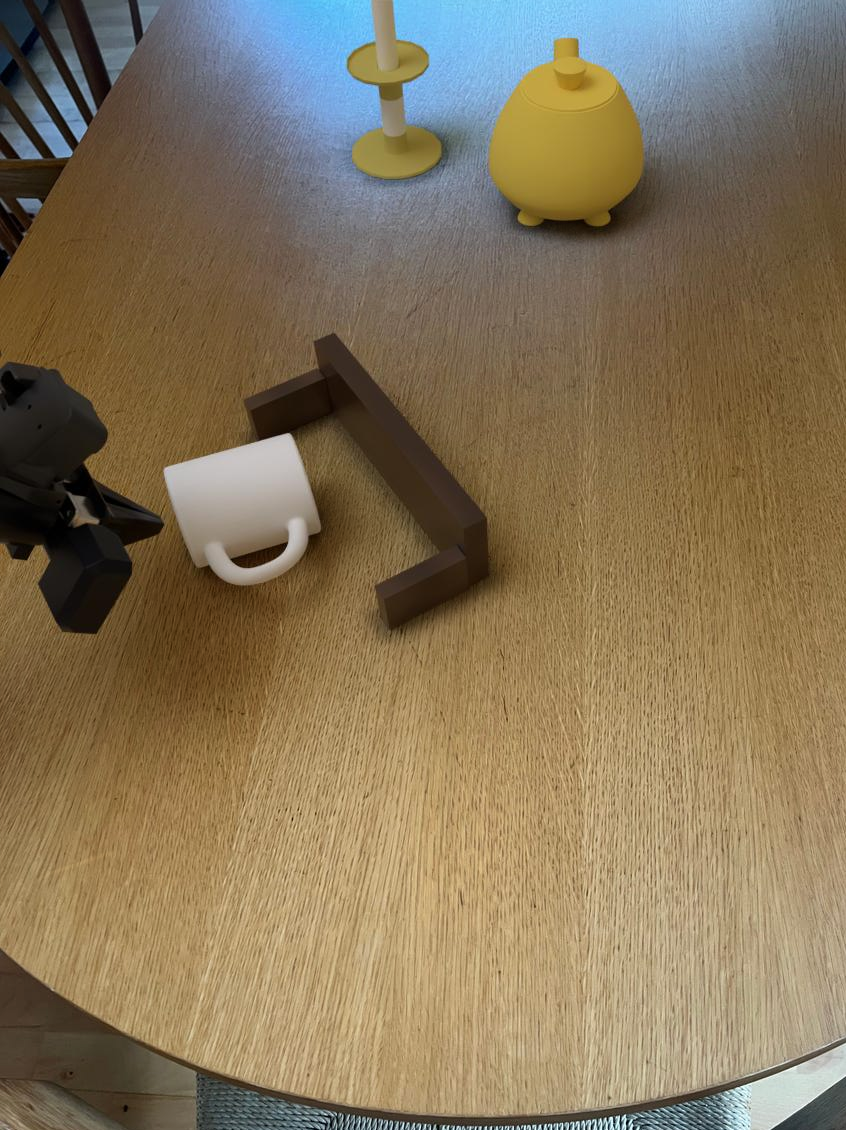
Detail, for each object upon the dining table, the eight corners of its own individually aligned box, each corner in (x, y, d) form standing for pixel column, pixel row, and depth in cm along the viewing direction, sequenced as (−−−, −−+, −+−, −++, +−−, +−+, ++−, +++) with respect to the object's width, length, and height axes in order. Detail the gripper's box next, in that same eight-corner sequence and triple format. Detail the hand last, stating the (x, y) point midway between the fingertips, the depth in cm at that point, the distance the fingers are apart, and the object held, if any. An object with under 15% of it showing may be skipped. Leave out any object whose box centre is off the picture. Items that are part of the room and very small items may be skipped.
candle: (433, 182, 108) (412, -115, 85) (342, 176, 109) (297, -119, 86) (449, 130, 113) (434, -162, 91) (362, 124, 114) (325, -166, 92)
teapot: (494, 132, 113) (491, -1, 101) (635, 132, 112) (648, -2, 100) (485, 244, 102) (482, 108, 90) (642, 245, 101) (658, 108, 89)
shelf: (389, 630, 76) (379, 574, 70) (252, 433, 88) (234, 371, 82) (490, 578, 79) (489, 519, 73) (344, 393, 90) (333, 330, 85)
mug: (184, 515, 83) (155, 446, 76) (302, 481, 85) (284, 411, 78) (215, 628, 77) (186, 564, 70) (341, 589, 79) (325, 523, 72)
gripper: (37, 479, 53) (271, 524, 65) (-59, 289, 62) (162, 360, 74) (-41, 631, 58) (191, 647, 70) (-121, 433, 67) (97, 478, 79)
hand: (160, 525), depth 73 cm, fingers closed
